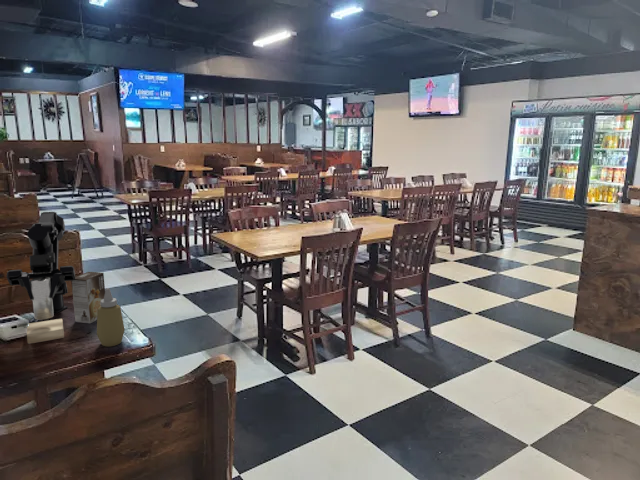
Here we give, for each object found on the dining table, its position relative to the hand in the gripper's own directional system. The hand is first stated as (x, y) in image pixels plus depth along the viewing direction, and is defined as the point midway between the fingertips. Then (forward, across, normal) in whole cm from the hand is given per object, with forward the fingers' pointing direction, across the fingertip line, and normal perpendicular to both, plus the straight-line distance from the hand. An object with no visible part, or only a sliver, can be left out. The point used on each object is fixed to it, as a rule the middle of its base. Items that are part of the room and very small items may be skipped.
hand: (41, 298), depth 147 cm
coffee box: (+1, +13, +18) cm, 22 cm away
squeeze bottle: (+18, +20, 0) cm, 27 cm away
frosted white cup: (+4, 0, +6) cm, 7 cm away
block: (+8, 0, +10) cm, 13 cm away
